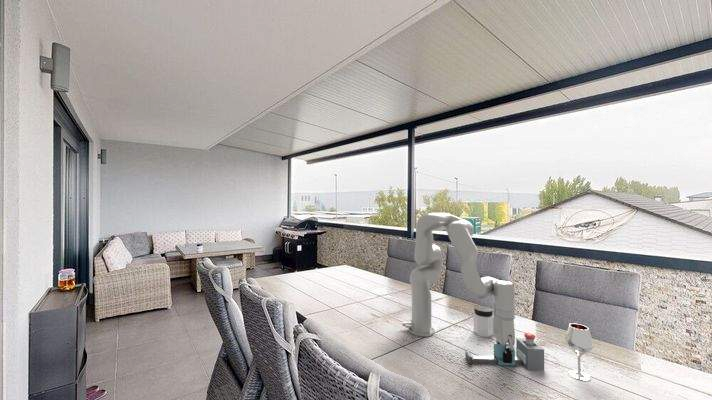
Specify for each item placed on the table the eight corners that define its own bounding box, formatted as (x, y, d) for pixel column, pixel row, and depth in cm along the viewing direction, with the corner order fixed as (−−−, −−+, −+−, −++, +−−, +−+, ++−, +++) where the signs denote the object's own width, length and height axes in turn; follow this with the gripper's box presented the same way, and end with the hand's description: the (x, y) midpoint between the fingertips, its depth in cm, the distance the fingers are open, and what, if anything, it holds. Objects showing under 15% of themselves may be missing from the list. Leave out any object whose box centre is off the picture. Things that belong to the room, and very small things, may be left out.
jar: (485, 338, 137) (485, 313, 137) (470, 332, 144) (470, 308, 144) (496, 334, 142) (496, 309, 142) (481, 328, 149) (481, 304, 149)
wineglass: (560, 369, 111) (559, 322, 112) (580, 369, 112) (579, 321, 112) (578, 383, 103) (577, 331, 103) (599, 381, 104) (599, 331, 104)
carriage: (499, 364, 114) (499, 349, 114) (493, 358, 119) (493, 343, 119) (514, 365, 113) (514, 350, 113) (509, 358, 118) (508, 344, 118)
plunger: (527, 349, 114) (527, 336, 114) (522, 345, 117) (522, 332, 118) (536, 349, 114) (536, 336, 114) (531, 345, 117) (531, 332, 117)
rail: (469, 365, 114) (469, 356, 114) (465, 358, 119) (465, 350, 119) (525, 367, 113) (525, 358, 113) (518, 360, 118) (518, 352, 118)
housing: (527, 370, 111) (527, 348, 111) (515, 357, 120) (515, 338, 120) (544, 370, 111) (544, 349, 111) (531, 358, 120) (531, 338, 120)
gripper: (486, 305, 125) (486, 347, 125) (503, 321, 108) (503, 370, 108) (504, 305, 125) (504, 348, 124) (524, 321, 108) (524, 371, 107)
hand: (504, 358), depth 116 cm, fingers closed on carriage, 5 cm apart
